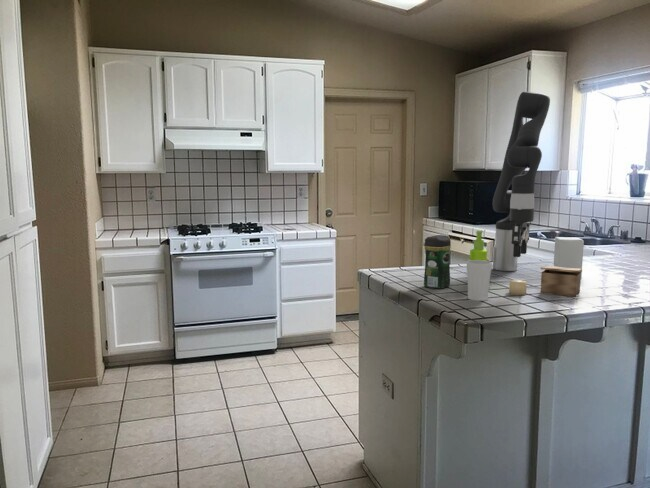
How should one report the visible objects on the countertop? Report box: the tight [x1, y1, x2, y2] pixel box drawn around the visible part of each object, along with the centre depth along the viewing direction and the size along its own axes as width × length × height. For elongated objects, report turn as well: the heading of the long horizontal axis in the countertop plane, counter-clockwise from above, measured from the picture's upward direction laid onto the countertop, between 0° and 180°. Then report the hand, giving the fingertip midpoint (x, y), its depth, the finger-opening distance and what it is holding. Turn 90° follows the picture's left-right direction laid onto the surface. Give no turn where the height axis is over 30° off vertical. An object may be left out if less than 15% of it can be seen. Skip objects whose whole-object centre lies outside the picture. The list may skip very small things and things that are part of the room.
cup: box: [466, 259, 493, 302], centre depth 174 cm, size 8×8×12 cm
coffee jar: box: [423, 234, 452, 290], centre depth 191 cm, size 10×8×19 cm
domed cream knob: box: [508, 279, 528, 296], centre depth 182 cm, size 6×6×4 cm
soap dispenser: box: [469, 230, 488, 261], centre depth 192 cm, size 6×7×20 cm
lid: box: [540, 265, 583, 273], centre depth 182 cm, size 12×10×1 cm
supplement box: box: [553, 236, 585, 278], centre depth 212 cm, size 9×9×15 cm
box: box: [540, 269, 582, 298], centre depth 183 cm, size 11×9×7 cm
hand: (519, 255), depth 180 cm, fingers open, 8 cm apart
